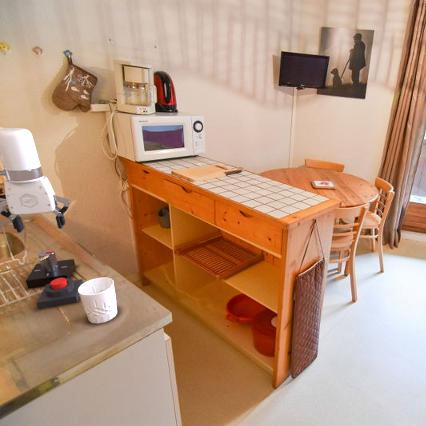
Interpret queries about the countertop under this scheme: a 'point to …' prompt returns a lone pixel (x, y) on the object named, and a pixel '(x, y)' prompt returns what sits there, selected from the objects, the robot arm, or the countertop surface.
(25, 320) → the countertop surface
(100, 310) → the white cup
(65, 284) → the button
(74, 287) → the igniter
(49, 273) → the stove panel
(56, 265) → the stove knob
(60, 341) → the countertop surface
